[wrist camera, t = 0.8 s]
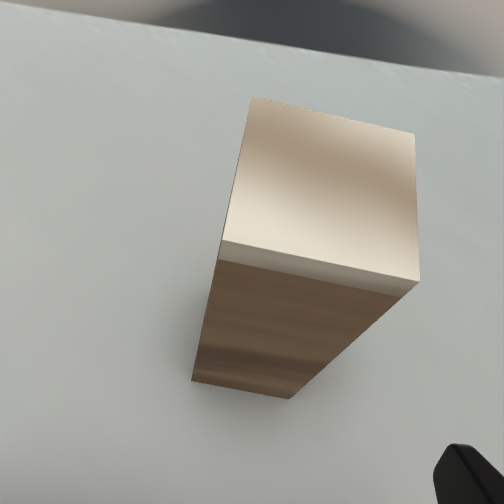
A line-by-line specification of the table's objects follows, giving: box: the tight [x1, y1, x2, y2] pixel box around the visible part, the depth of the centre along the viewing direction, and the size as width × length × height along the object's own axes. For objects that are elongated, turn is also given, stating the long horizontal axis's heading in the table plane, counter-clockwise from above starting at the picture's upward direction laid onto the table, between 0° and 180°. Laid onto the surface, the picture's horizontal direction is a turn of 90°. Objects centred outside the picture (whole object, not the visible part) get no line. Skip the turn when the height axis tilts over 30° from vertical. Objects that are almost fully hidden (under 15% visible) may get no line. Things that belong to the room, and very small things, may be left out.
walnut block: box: [191, 96, 420, 399], centre depth 19 cm, size 5×5×14 cm
